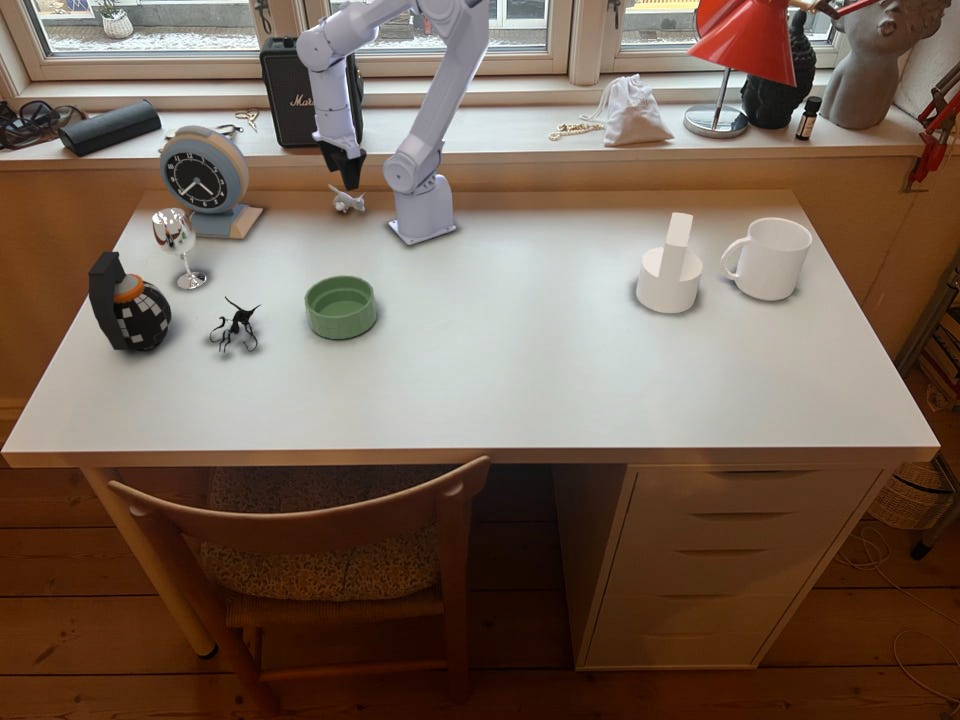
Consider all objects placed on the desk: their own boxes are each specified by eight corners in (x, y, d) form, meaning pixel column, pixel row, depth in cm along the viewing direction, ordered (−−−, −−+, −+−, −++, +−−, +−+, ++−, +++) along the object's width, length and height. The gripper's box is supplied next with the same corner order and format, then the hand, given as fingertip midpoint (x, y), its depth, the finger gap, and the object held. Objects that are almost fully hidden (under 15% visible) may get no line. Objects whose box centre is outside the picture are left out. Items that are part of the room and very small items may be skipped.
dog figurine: (353, 227, 128) (368, 208, 125) (316, 200, 126) (330, 180, 122) (358, 218, 130) (374, 199, 127) (322, 191, 128) (337, 171, 124)
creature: (250, 365, 100) (276, 322, 104) (236, 343, 95) (264, 299, 100) (203, 353, 102) (230, 312, 106) (187, 331, 97) (217, 288, 101)
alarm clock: (170, 234, 123) (135, 139, 111) (194, 205, 130) (164, 112, 118) (248, 239, 121) (221, 143, 109) (268, 210, 128) (245, 116, 116)
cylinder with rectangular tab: (691, 318, 105) (708, 251, 97) (631, 306, 107) (643, 240, 99) (697, 283, 111) (714, 218, 103) (640, 273, 113) (652, 208, 105)
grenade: (162, 372, 97) (124, 286, 87) (95, 372, 98) (49, 286, 87) (188, 319, 106) (156, 235, 95) (126, 319, 106) (87, 235, 96)
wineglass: (199, 293, 110) (176, 228, 102) (166, 289, 111) (140, 224, 103) (216, 272, 114) (195, 207, 106) (184, 268, 115) (161, 204, 107)
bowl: (360, 291, 110) (356, 268, 107) (388, 326, 104) (385, 302, 101) (300, 312, 107) (294, 289, 104) (325, 350, 100) (319, 326, 97)
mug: (790, 270, 113) (808, 221, 107) (796, 305, 107) (815, 254, 100) (714, 262, 115) (727, 212, 109) (715, 295, 109) (729, 244, 102)
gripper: (293, 93, 117) (307, 168, 126) (325, 126, 108) (338, 204, 117) (332, 84, 120) (343, 158, 129) (367, 116, 111) (377, 192, 120)
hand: (343, 179), depth 123 cm, fingers open, 7 cm apart
